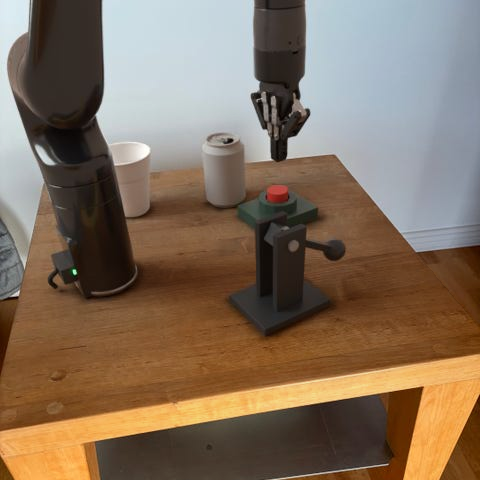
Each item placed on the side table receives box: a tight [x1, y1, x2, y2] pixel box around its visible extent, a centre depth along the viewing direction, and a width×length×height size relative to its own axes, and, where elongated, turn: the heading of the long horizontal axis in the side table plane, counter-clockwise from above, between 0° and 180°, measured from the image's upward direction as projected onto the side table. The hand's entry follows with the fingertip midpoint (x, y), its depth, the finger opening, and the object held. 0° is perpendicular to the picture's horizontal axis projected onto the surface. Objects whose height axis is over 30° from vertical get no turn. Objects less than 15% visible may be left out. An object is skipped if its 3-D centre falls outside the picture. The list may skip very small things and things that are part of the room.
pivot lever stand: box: [228, 211, 331, 337], centre depth 66 cm, size 11×9×13 cm
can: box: [201, 131, 247, 209], centre depth 91 cm, size 8×8×12 cm
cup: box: [109, 141, 152, 218], centre depth 89 cm, size 10×10×11 cm
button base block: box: [237, 188, 319, 230], centre depth 88 cm, size 11×9×4 cm
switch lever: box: [264, 222, 347, 262], centre depth 67 cm, size 14×3×3 cm, turn 122°
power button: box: [267, 184, 289, 203], centre depth 86 cm, size 4×4×2 cm
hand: (278, 159), depth 82 cm, fingers closed
